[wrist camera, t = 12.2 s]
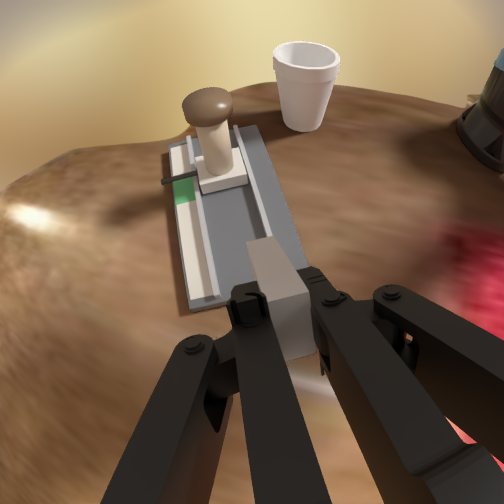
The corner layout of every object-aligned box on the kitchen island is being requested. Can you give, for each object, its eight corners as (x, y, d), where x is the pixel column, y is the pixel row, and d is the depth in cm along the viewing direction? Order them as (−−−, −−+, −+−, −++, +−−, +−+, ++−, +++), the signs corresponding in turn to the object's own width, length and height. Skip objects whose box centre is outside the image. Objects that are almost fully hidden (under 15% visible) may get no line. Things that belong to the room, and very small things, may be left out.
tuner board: (256, 131, 45) (256, 118, 43) (311, 283, 34) (314, 275, 32) (170, 151, 45) (166, 139, 42) (192, 312, 34) (186, 306, 31)
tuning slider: (239, 156, 41) (230, 82, 29) (248, 184, 39) (239, 108, 27) (163, 175, 40) (134, 107, 29) (166, 204, 38) (132, 136, 27)
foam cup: (275, 102, 49) (275, 39, 37) (327, 105, 48) (335, 44, 36) (272, 136, 45) (271, 67, 33) (331, 141, 44) (343, 73, 32)
